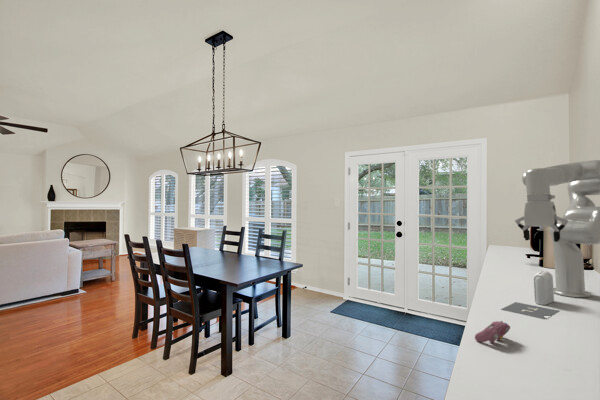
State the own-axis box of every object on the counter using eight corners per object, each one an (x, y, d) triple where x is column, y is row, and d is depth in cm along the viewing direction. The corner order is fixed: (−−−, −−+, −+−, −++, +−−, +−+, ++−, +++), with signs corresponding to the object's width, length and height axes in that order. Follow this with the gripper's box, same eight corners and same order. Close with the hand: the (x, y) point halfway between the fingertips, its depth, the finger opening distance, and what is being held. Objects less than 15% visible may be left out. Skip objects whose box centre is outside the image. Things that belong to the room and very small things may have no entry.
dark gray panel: (515, 302, 123) (515, 301, 123) (559, 311, 112) (559, 310, 112) (500, 309, 115) (500, 309, 115) (546, 320, 104) (546, 319, 104)
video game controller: (486, 351, 86) (497, 332, 83) (472, 338, 90) (481, 320, 87) (505, 343, 91) (516, 325, 88) (491, 331, 94) (501, 313, 92)
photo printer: (542, 298, 127) (541, 268, 127) (555, 301, 123) (553, 270, 124) (533, 303, 121) (531, 272, 121) (546, 306, 117) (544, 274, 118)
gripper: (568, 197, 119) (572, 241, 119) (517, 199, 133) (520, 238, 133) (562, 197, 115) (566, 243, 114) (510, 200, 129) (513, 240, 129)
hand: (541, 240), depth 124 cm, fingers open, 9 cm apart
